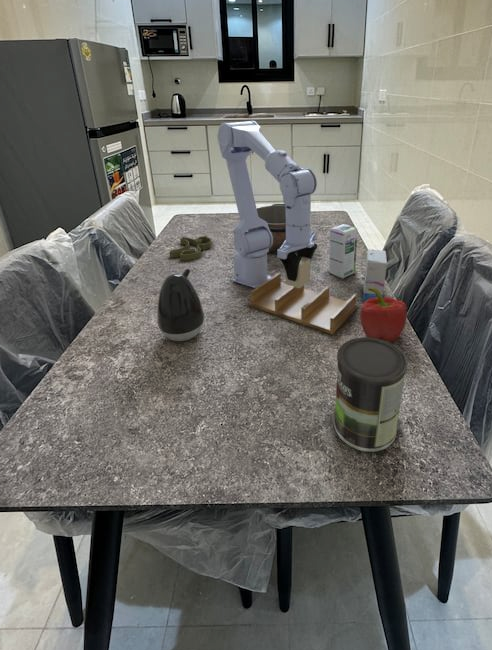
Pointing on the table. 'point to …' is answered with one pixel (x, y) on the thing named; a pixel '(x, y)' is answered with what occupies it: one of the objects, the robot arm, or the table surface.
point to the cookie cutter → (189, 253)
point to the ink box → (375, 273)
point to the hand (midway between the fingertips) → (297, 275)
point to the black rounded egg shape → (179, 308)
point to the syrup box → (342, 250)
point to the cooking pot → (274, 224)
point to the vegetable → (383, 317)
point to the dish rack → (302, 304)
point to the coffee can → (368, 393)
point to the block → (301, 274)
